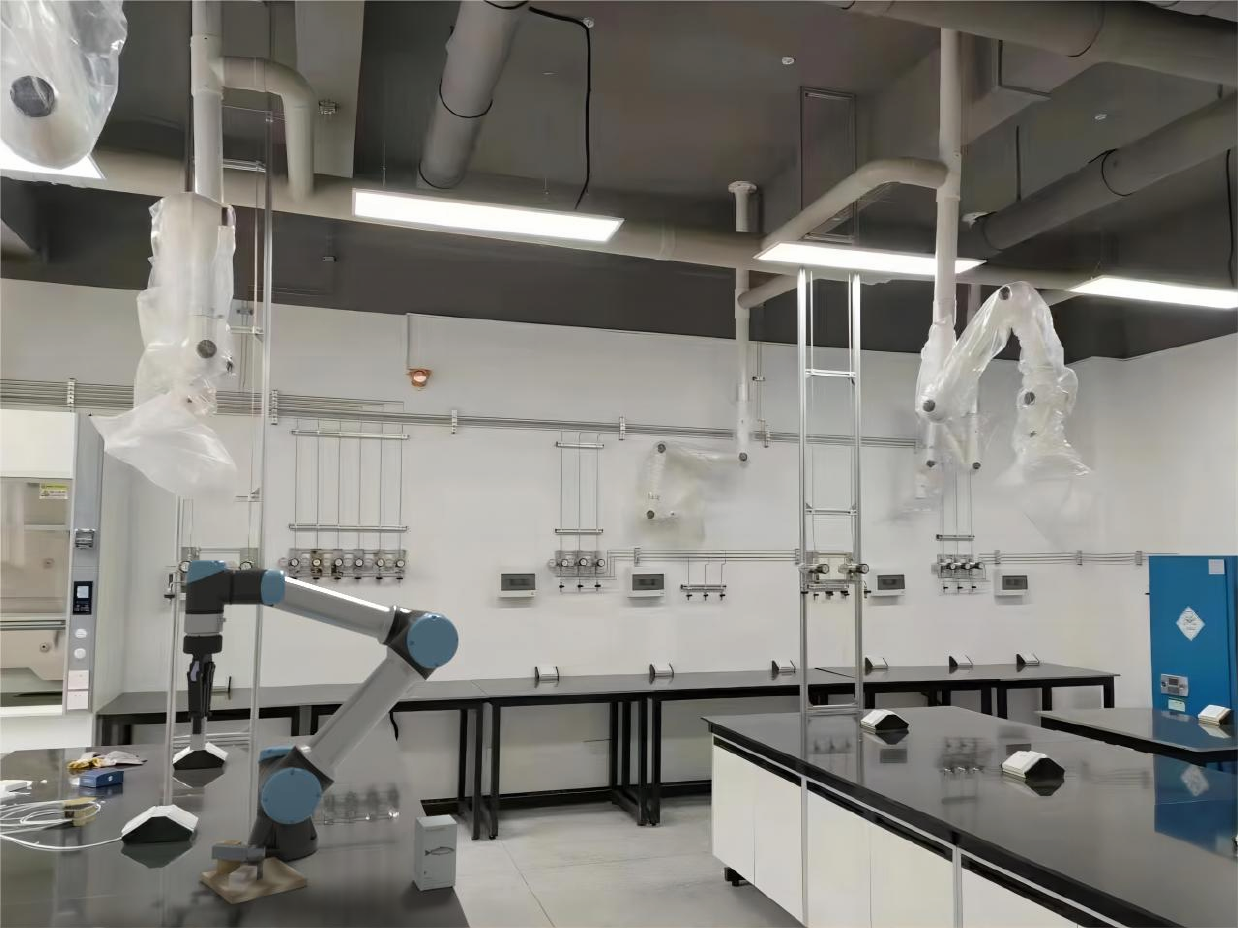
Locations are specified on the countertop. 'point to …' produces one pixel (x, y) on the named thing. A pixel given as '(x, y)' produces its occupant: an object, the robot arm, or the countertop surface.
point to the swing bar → (239, 852)
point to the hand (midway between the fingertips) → (197, 749)
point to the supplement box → (435, 852)
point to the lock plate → (262, 886)
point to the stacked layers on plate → (79, 811)
